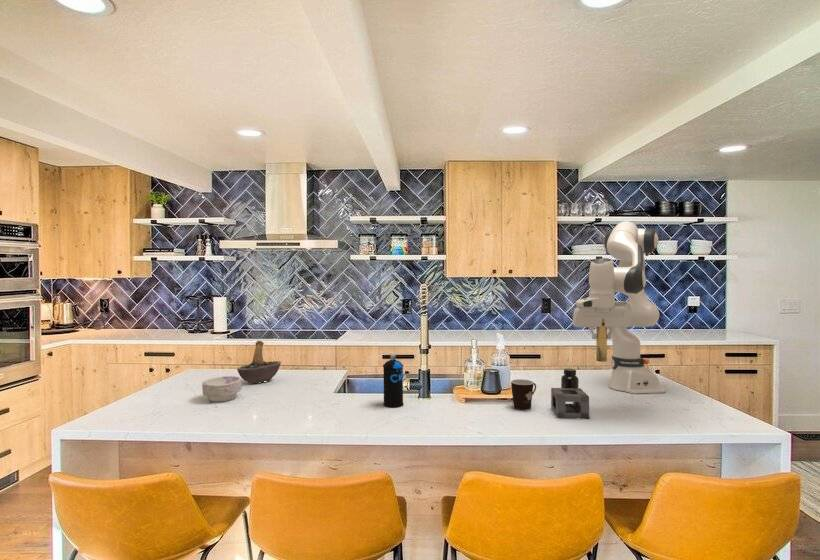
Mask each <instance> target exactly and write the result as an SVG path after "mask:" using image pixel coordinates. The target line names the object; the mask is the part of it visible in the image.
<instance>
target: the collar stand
mask: <svg viewBox="0 0 820 560" xmlns="http://www.w3.org/2000/svg"><path fill="white" fill-rule="evenodd" d="M550 398H551V399H550V408H551V410H552V412H553V413H554V414H555V416H556V418H557V419H577V418H580V419H579V420H581V419H583V420H584V419H586V420H589V419H590V395H588V394H587V393H586V392H585V391H584V390H583V389H582V388H580V387H578V388H561V387H551V388H550ZM566 402H568V403H566Z"/></svg>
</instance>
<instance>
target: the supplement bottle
mask: <svg viewBox="0 0 820 560" xmlns="http://www.w3.org/2000/svg"><path fill="white" fill-rule="evenodd" d="M560 381H561V383H560V388H579V382H580V381H579V377H578V376H577V370H576V369H574V368H563V375H562V376H561V379H560Z"/></svg>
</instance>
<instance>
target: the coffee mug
mask: <svg viewBox="0 0 820 560" xmlns="http://www.w3.org/2000/svg"><path fill="white" fill-rule="evenodd" d="M510 386H511V393H512V403H513V408H514V409H515V410H520V411H529V410H531V408H532V400H533V395H534V394H535V392H536V389H537V384H536V383H535V382H534V381H532V380H529V379H524V378H523V379H521V378H519V379H512V380H511V381H510Z"/></svg>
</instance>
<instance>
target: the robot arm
mask: <svg viewBox="0 0 820 560" xmlns="http://www.w3.org/2000/svg"><path fill="white" fill-rule="evenodd" d="M658 244H659V235H658V233H657V231H656V230H655V229H653V228H647V227H646V228H641V227H639V228H638V226H637V225H636V224H635V223H633V222H631V221H627V220H625V221H620V222H618V223H617V224H616V225H615V227H614V228H613V229H612V230H608V231H607V232H606V233H605V234H604V237H603V246H604V249H605V250H606V251H607V253H608V254H609V255H610V256H611V257H612V258H614V259H616V260H619V263H618V266H616V267H615V266H614V260H613V259H611V258H608V257H601V258H595V259H593V260H591V261H590V265H589V274H588V284H589V292H588V297H584V298H580V299H578V300H576V301H575V305H576V307H575V308H574V310H573V314H572V325H573V326H574V327H576V328H588V331H589V332H590V334H591V339H592V340H596V339H597V334H596V332H595V331H594V330H595V328H596V327H601V326H602V319H605V320H604V322H605V327H607V331H608V332H607V340H612V342H611V343H612V355H611V369H612V370H611V375H610V380H609V384H608V387H609V388H610V389H612V390H616V391H620V392H626V393H629V394H660V393H663V394H664V393H666V388H665V387H664V386H663V385H660V380H659V377H658V376H657V375H656V373H654V372H653V371H652V370H650V369H649V368H648V367H647V366H645V365H648V364H649V363H650V362H649V360H648V359H646V358H642V357H641V341H640V339H639V338H638V336H636V335H634V334H632V333H631V332H629V331H628V328H630V327H635V328H636V327H637V328H646V327H655V325H656V324H657V323H658V322H659V319H660V311H659V309H658V307H657V306H656V305H655V304H654V303H652V302H651V301H650V300H649V298H648V297H647V295H646V293H645V287H646V283H647V278H646V274H645V271H646V261H645V259H646V258H645V257H648V256H649V254H652V253H653V252H654V251H655V250H656V249H657V246H658ZM616 293H621V294H623V295H625V296H627V297H628V300H627V301H623V300H621V301H620V300H616V299H615V295H616Z"/></svg>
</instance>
